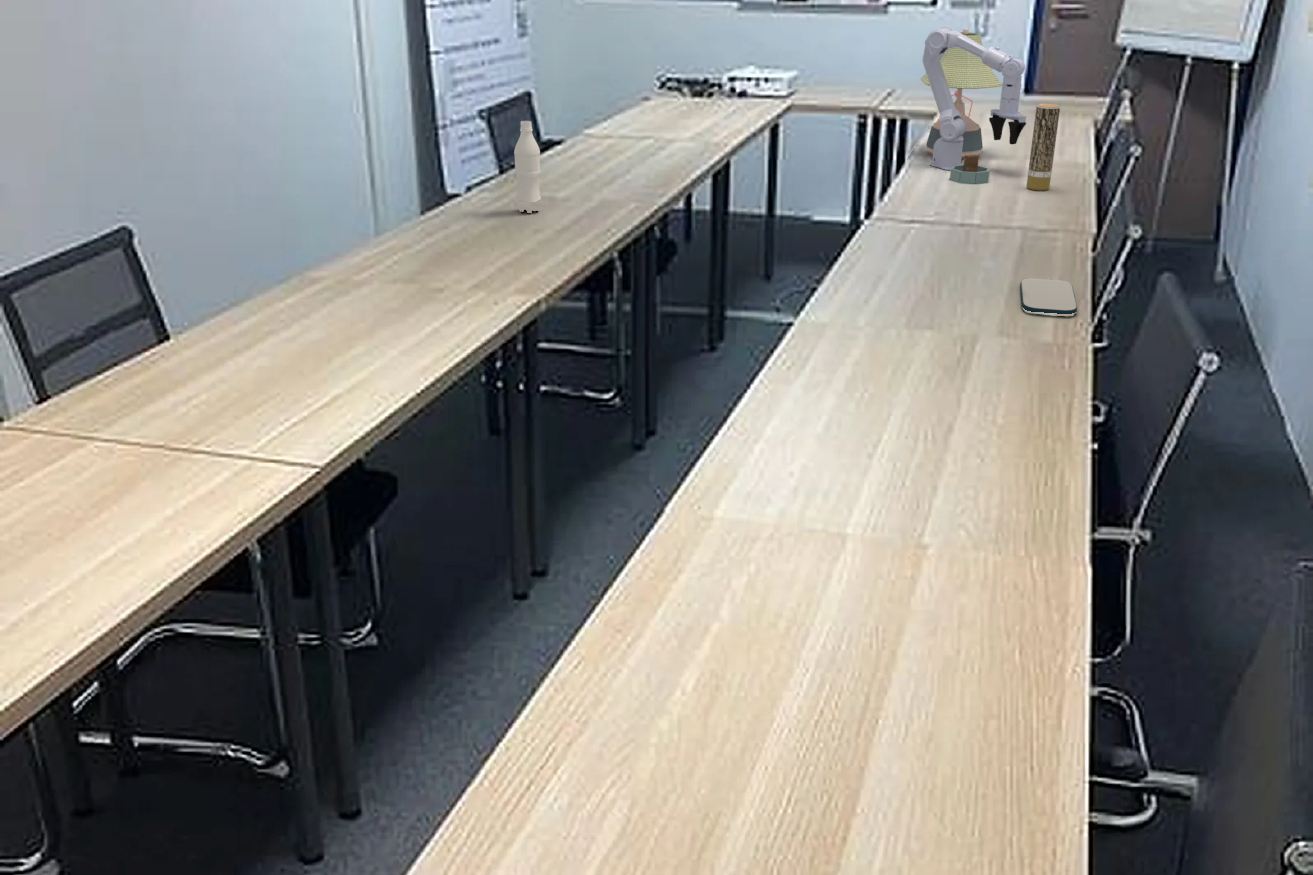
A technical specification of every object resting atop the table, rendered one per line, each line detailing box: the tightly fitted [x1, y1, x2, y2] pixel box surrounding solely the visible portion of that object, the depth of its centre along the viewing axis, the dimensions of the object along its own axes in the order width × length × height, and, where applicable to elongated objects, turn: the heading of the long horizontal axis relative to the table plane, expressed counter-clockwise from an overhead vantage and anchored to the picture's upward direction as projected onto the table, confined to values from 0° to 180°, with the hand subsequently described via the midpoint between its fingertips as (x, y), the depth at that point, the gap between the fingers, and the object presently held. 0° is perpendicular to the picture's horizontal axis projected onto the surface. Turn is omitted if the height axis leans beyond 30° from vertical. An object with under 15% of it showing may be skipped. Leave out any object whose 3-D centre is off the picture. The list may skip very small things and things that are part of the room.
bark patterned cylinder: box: [1026, 103, 1061, 192], centre depth 376 cm, size 7×7×25 cm
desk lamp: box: [920, 28, 1002, 160], centre depth 419 cm, size 26×28×42 cm
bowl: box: [949, 164, 991, 185], centre depth 391 cm, size 12×12×4 cm
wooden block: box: [963, 154, 980, 172], centre depth 390 cm, size 2×4×7 cm, turn 115°
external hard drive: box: [1019, 277, 1078, 314], centre depth 277 cm, size 24×12×2 cm, turn 166°
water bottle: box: [513, 120, 542, 202], centre depth 346 cm, size 7×7×25 cm
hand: (1004, 141), depth 398 cm, fingers open, 7 cm apart
